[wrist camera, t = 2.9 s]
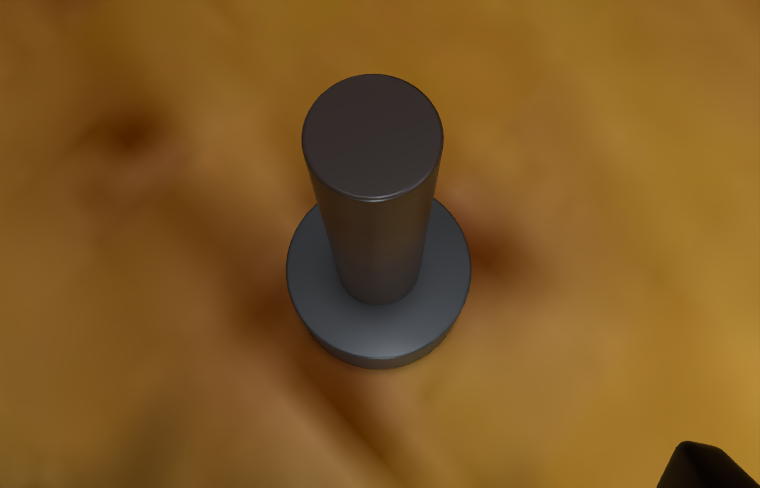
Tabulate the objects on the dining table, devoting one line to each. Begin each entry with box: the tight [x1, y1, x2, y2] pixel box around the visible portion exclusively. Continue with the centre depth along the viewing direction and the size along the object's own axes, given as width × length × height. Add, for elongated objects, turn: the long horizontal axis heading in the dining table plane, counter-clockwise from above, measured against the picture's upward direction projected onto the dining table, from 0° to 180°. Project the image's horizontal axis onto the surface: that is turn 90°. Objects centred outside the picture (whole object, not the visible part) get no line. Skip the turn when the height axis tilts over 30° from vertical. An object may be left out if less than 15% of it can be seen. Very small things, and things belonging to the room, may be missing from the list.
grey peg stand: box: [286, 74, 471, 369], centre depth 14 cm, size 5×5×10 cm
